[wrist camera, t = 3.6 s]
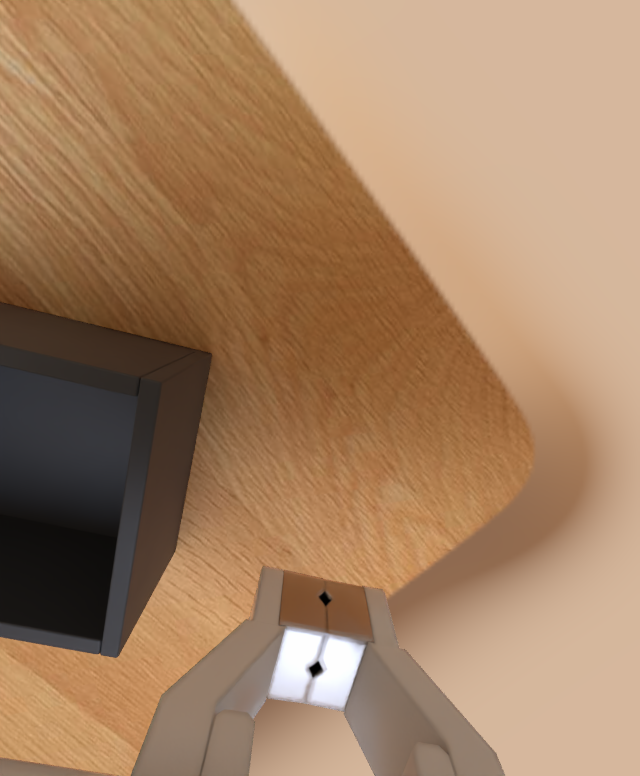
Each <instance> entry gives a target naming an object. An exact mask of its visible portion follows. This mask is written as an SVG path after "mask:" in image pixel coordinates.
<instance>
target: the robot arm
mask: <svg viewBox="0 0 640 776" xmlns="http://www.w3.org/2000/svg"><path fill="white" fill-rule="evenodd" d="M266 698H270V699H276V700H283V701H291V702H298V703H305V704H310V705H315V706H320V707H324V708H329V709H334V710H338V711H343V712H344V715H345V717H346V719H347V721H348V723H349V725H350V727H351V729H352V731H353V733H354V735H355V737H356V739H357V741H358V743H359V745H360V747H361V749H362V751H363V753H364V755H365V757H366V759H367V761H368V763H369V765H370V767H371V769H372V771H373V773H374V775H375V776H505V774H504V771H503V769H502V767H501V764H500V762H499V759H498V757H497V754H496V753H495V752H494V750H493V749H492V748H491V747H490V746H489V745H488V744H487V742H486V741H485V740H484V739H483V738H482V737H481V735H480V734H479V733H478V732H477V731H476V730H475V729H474V727H473V726H472V725H471V724H470V723H469V722H468V721H467V719H466V718H465V717H464V716H463V715H462V714H461V713H460V711H459V710H458V709H457V708H456V707H455V706H454V705H453V703H452V702H451V701H450V700H449V699H448V698H447V697H446V695H445V694H444V693H443V692H442V691H441V690H440V688H438V686H437V685H436V684H435V683H434V682H433V681H432V679H431V678H430V677H429V676H428V675H427V674H426V673H425V671H424V670H423V669H422V668H421V667H420V666H419V664H418V663H417V662H416V661H415V660H414V659H413V658H412V656H411V655H410V654H409V653H408V652H407V651H406V650H405V649H401V648H399V646H398V642H397V638H396V634H395V630H394V626H393V622H392V618H391V614H390V611H389V607H388V603H387V599H386V595H385V592H384V591H383V590H382V589H378V588H372V587H366V586H357V585H352V584H347V583H342V582H337V581H332V580H327V579H323V578H318V577H314V576H309V575H305V574H301V573H296V572H292V571H287V570H284V571H283V570H282V569H277V568H273V567H268V566H263V567H262V570H261V573H260V577H259V581H258V585H257V589H256V593H255V597H254V601H253V605H252V609H251V613H250V617H249V620H247V619H246V620H245V621H244V622H243V623H241V624H240V625H239V626H238V627H237V628H236V629H235V630H234V631H233V632H231V633H230V634H229V635H228V636H227V637H226V638H225V639H224V640H222V641H221V642H220V643H219V644H218V645H217V646H216V647H215V648H214V649H212V650H211V651H210V652H209V653H208V654H207V655H206V656H205V657H204V658H202V659H201V660H200V661H199V662H198V663H197V664H196V665H195V666H194V667H192V668H191V669H190V670H189V671H188V672H187V673H186V674H185V675H184V676H182V677H181V678H180V679H179V680H178V681H177V682H176V683H175V684H174V685H172V686H171V687H170V688H169V689H168V690H167V691H166V692H165V693H163V694H162V695H161V698H160V701H159V703H158V706H157V708H156V711H155V714H154V716H153V719H152V721H151V724H150V727H149V729H148V732H147V735H146V737H145V740H144V742H143V745H142V748H141V750H140V753H139V755H138V758H137V761H136V763H135V766H134V768H133V771H132V774H131V776H249V768H250V760H251V751H252V743H253V735H254V727H255V721H254V720H253V718H254V717H255V715H256V714H257V712H258V711H259V709H260V708H261V707H262V705H263V704H264V702H265V701H266ZM0 776H119V775H112V774H106V773H99V772H93V771H86V770H80V769H73V768H66V767H60V766H53V765H47V764H40V763H34V762H27V761H21V760H14V759H8V758H1V757H0Z"/></svg>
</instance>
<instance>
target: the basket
mask: <svg viewBox="0 0 640 776" xmlns="http://www.w3.org/2000/svg"><path fill="white" fill-rule="evenodd" d="M211 358H212V354H211V353H208V352H203V351H199V350H195V349H191V348H187V347H183V346H179V345H175V344H170V343H166V342H162V341H158V340H154V339H150V338H146V337H142V336H138V335H133V334H129V333H125V332H121V331H117V330H113V329H109V328H105V327H101V326H96V325H92V324H88V323H84V322H80V321H76V320H72V319H68V318H64V317H59V316H55V315H51V314H47V313H43V312H39V311H35V310H31V309H26V308H22V307H18V306H14V305H10V304H6V303H2V302H0V637H3V638H9V639H14V640H20V641H25V642H31V643H37V644H42V645H48V646H53V647H59V648H65V649H70V650H76V651H81V652H87V653H92V654H99V653H100V654H101V655H104V656H109V657H115V658H117V657H118V656H119V654H120V652H121V651H122V649H123V647H124V645H125V643H126V641H127V639H128V638H129V636H130V634H131V632H132V630H133V628H134V626H135V625H136V623H137V621H138V619H139V617H140V615H141V614H142V612H143V610H144V608H145V606H146V604H147V602H148V601H149V599H150V597H151V595H152V593H153V591H154V589H155V588H156V586H157V584H158V582H159V580H160V578H161V576H162V575H163V573H164V571H165V569H166V567H167V565H168V564H169V562H170V560H171V558H172V556H173V554H174V552H175V549H176V544H177V538H178V533H179V528H180V522H181V517H182V512H183V507H184V501H185V496H186V491H187V485H188V480H189V475H190V469H191V464H192V459H193V453H194V448H195V443H196V438H197V432H198V427H199V422H200V416H201V411H202V406H203V400H204V395H205V390H206V384H207V379H208V374H209V369H210V363H211Z"/></svg>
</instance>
